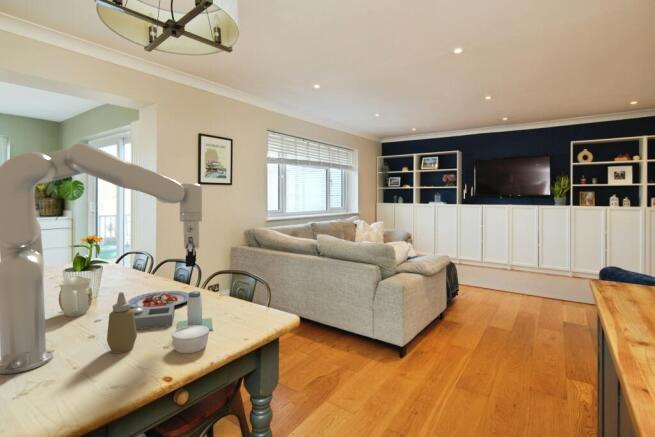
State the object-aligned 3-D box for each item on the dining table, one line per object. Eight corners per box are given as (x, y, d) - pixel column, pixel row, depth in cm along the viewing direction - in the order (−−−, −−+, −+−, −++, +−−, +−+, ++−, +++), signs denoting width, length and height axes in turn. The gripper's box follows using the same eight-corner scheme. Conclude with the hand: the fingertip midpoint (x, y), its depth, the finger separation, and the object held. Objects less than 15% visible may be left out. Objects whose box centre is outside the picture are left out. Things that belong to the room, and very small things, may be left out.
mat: (212, 330, 121) (212, 329, 121) (176, 334, 117) (176, 333, 117) (211, 319, 132) (211, 317, 132) (178, 322, 128) (178, 321, 128)
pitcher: (56, 323, 125) (55, 287, 124) (61, 310, 140) (60, 277, 139) (92, 318, 131) (91, 283, 131) (93, 306, 146) (92, 274, 145)
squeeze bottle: (131, 341, 111) (130, 287, 110) (141, 348, 106) (140, 292, 105) (102, 350, 104) (101, 292, 103) (112, 358, 99) (111, 298, 98)
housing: (174, 314, 137) (174, 305, 136) (172, 325, 126) (172, 314, 125) (129, 319, 131) (129, 309, 131) (122, 330, 120) (122, 319, 120)
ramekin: (190, 337, 115) (190, 322, 114) (216, 343, 111) (216, 327, 110) (163, 351, 104) (163, 334, 104) (191, 358, 100) (191, 340, 100)
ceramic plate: (121, 302, 153) (121, 295, 153) (180, 292, 170) (180, 286, 170) (135, 317, 134) (134, 310, 134) (199, 304, 151) (199, 298, 151)
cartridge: (202, 326, 123) (201, 293, 122) (187, 328, 121) (186, 295, 121) (202, 322, 128) (201, 290, 127) (187, 323, 126) (187, 291, 125)
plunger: (142, 322, 125) (141, 310, 125) (129, 323, 124) (129, 311, 124) (143, 318, 129) (143, 307, 129) (131, 320, 128) (131, 308, 128)
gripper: (201, 218, 116) (201, 268, 117) (202, 216, 132) (202, 259, 133) (178, 218, 113) (178, 269, 114) (181, 216, 129) (181, 260, 130)
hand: (191, 263), depth 123 cm, fingers open, 9 cm apart
